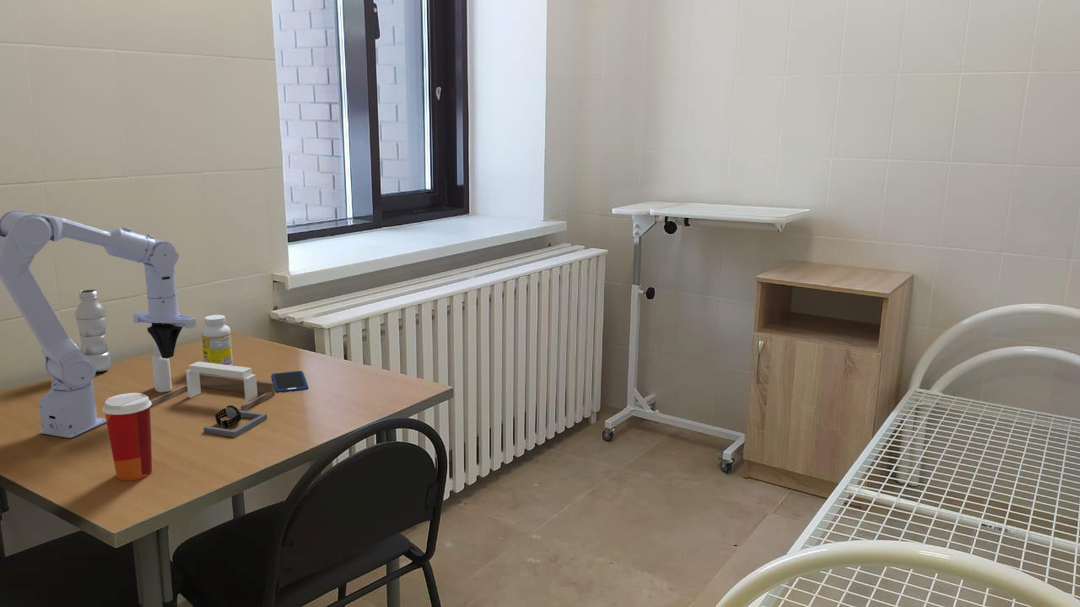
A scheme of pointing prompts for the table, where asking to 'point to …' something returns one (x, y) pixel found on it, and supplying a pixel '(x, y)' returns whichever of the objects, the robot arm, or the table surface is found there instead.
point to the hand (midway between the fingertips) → (167, 357)
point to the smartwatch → (230, 413)
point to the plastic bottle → (93, 329)
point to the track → (225, 388)
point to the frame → (233, 433)
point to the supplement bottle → (217, 341)
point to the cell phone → (289, 381)
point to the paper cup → (130, 434)
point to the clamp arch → (223, 370)
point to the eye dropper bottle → (161, 371)
